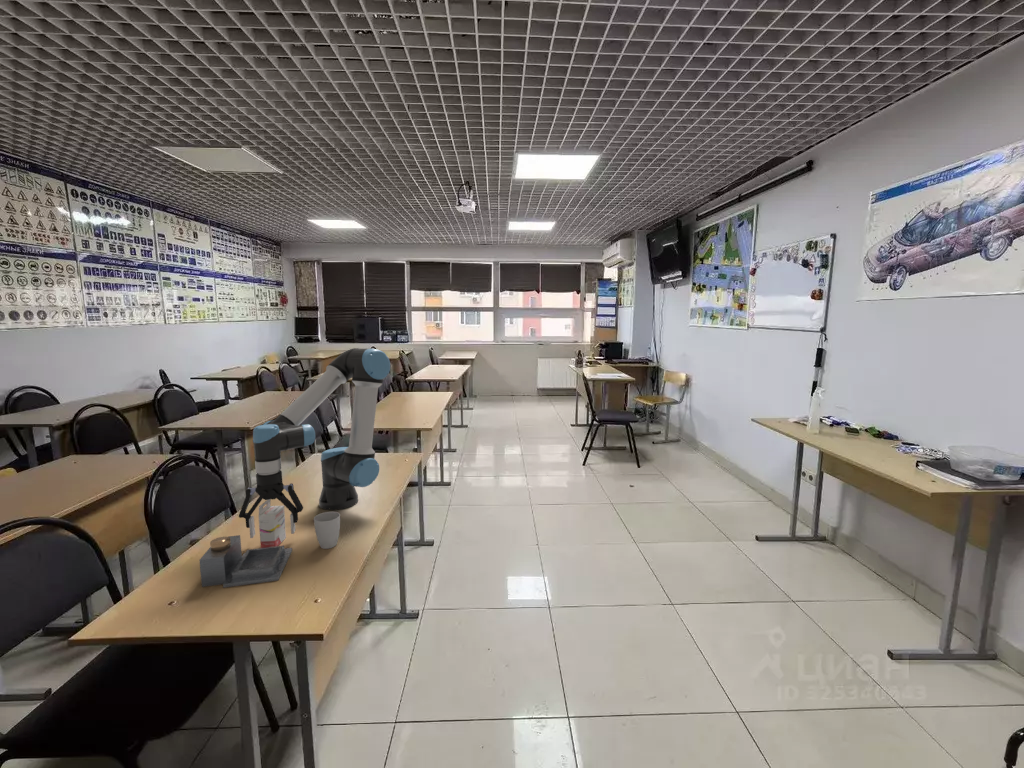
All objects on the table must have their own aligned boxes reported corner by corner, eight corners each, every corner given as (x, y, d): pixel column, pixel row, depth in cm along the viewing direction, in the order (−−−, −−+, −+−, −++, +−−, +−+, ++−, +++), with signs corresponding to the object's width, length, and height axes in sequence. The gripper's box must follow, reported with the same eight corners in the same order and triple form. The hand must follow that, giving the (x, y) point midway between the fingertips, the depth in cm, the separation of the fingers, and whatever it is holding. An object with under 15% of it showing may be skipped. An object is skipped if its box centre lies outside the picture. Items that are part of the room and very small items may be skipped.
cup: (346, 541, 152) (345, 513, 151) (329, 552, 144) (328, 523, 143) (327, 537, 155) (325, 510, 153) (309, 548, 147) (308, 519, 146)
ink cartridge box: (276, 549, 147) (272, 506, 145) (260, 550, 146) (257, 507, 144) (286, 537, 155) (284, 496, 153) (272, 538, 155) (269, 497, 153)
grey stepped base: (292, 550, 146) (290, 521, 144) (278, 580, 128) (275, 547, 127) (222, 558, 141) (220, 528, 139) (198, 590, 123) (195, 556, 122)
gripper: (310, 465, 154) (313, 525, 157) (232, 471, 148) (237, 533, 151) (306, 472, 147) (309, 534, 150) (223, 478, 141) (229, 543, 144)
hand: (273, 534), depth 150 cm, fingers open, 12 cm apart
